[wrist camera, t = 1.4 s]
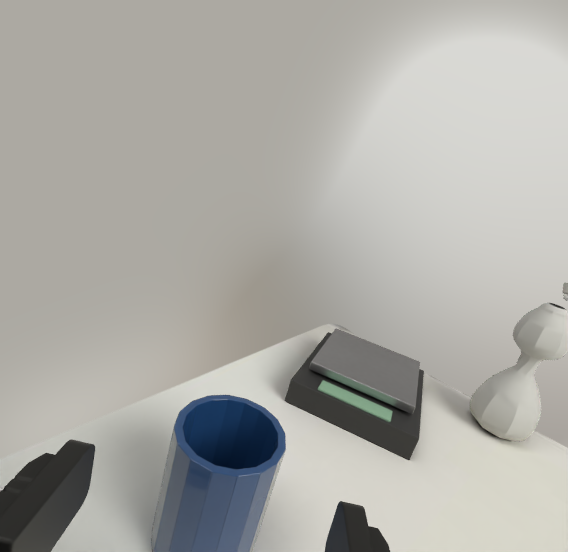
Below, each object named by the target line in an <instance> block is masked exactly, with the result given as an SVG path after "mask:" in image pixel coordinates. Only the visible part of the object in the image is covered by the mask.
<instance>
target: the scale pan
mask: <svg viewBox="0 0 568 552" xmlns="http://www.w3.org/2000/svg"><path fill="white" fill-rule="evenodd" d="M419 366H420V362H419V361H416V360H413V359H411V358H409V357H406V356H404V355H401V354H398V353H396V352H394V351H391V350H388V349H386V348H383V347H381V346H379V345H376V344H373V343H371V342H369V341H366V340H364V339H361V338H359V337H356V336H354V335H351V334H349V333H346V332H344V331H341V330H339V329H335V330H334V332H333V333H332V334H331V336H330V337H329V338H328V340H327V341H326V342H325V344H324V345H323V346H322V348H321V349H320V350H319V352H318V353H317V355H316V356H315V357H314V359H313V360H312V361H311V364H310V367H309V369H311V370H313V371H315V372H317V373H320V374H322V375H324V376H326V377H329V378H331V379H333V380H336V381H338V382H340V383H342V384H345V385H347V386H349V387H351V388H354V389H356V390H358V391H360V392H363V393H365V394H367V395H370V396H372V397H374V398H376V399H379V400H381V401H383V402H385V403H388V404H390V405H392V406H394V407H397V408H399V409H401V410H404V411H406V412H408V413H410V414H413V412H414V410H415V407H416V397H417V387H418V376H419Z"/></svg>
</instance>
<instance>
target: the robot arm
mask: <svg viewBox="0 0 568 552" xmlns="http://www.w3.org/2000/svg"><path fill="white" fill-rule="evenodd" d="M94 453H95V446H94V445H93V444H89V443H84V442H80V441H76V440H69V441H68V442H67V443H66V444H65V445H64V446H63V447H62V448H61V449H60V450H59V451H58V452H57V454H56V455H53V454H49V453H45V454H43V455H42V456H40V457H38V458H36V459H34V460H33V461H31V462H29V463H28V464H27V465H26V466H25V467H24V468H23V469H22V470H21V471H20V472H19V473H18V474H17V475H16V476H15V478H14V479H12V480H11V481H10V482H9V483H8V484H7V485H6V486H5V487H4V489H3V491H2V490H1V491H0V552H51V550H52V549H53V547H54V546H55V544H56V543H57V541H58V540H59V538H60V537H61V536H62V534H63V533H64V531H65V530H66V528H67V527H68V525H69V524H70V522H71V521H72V519H73V518H74V516H75V515H76V513H77V512H78V510H79V509H80V507H81V506H82V504H83V502H84V500H85V498H86V496H87V493H88V490H89V487H90V481H91V474H92V467H93V460H94ZM325 552H390V550H389V546H388V544H387V542H386V540H385V539H384V537H383V536H382V534H381V532H380V531H379V529H378V528H374V527H369V526H368V523H367V518H366V514H365V509H364V507H363V506H360V505H355V504H351V503H346V502H342V501H340V502H339V504H338V506H337V509H336V512H335V515H334V519H333V522H332V525H331V528H330V531H329V534H328V537H327V541H326V547H325Z"/></svg>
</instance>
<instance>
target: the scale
mask: <svg viewBox="0 0 568 552" xmlns="http://www.w3.org/2000/svg"><path fill="white" fill-rule="evenodd" d="M331 334H332V333H329V332H328V333H327V334H326V336H325V337H324V338H323V340H322V341H321V342H320V343H319V345H318V346H317V347H316V349H315V350H314V351H313V352H312V354H311V355H310V356H309V358H308V359H307V360H306V362H305V363H304V364H303V365H302V367H301V368H300V369H299V371H298V372H297V373H296V374H295V376H294V377H293V378H292V380H291V382H290V385H289V388H288V392H287V395H286V398H285V401H286V402H288V403H290V404H292V405H294V406H296V407H299V408H301V409H303V410H305V411H307V412H309V413H311V414H313V415H315V416H318V417H320V418H322V419H324V420H326V421H328V422H330V423H332V424H334V425H336V426H339V427H341V428H343V429H345V430H347V431H349V432H351V433H353V434H355V435H358V436H360V437H362V438H364V439H366V440H368V441H370V442H372V443H374V444H376V445H379V446H381V447H383V448H385V449H387V450H389V451H391V452H393V453H395V454H398V455H400V456H402V457H404V458H406V459H408V460H410V457H411V455H412V453H413V451H414V449H415V446H416V444H417V442H418V440H419V431H420V417H421V403H422V389H423V374H424V371H423V370H420V369H419V376H418V387H417V397H416V407H415V410H414V412H413V414H410V413H408V412H406V411H404V410H401V409H399V408H397V407H394V406H392V405H390V404H388V403H385V402H383V401H381V400H379V399H376V398H374V397H372V396H370V395H367V394H365V393H363V392H360V391H358V390H356V389H354V388H351V387H349V386H347V385H345V384H342V383H340V382H338V381H336V380H333V379H331V378H329V377H326V376H324V375H322V374H320V373H317V372H315V371H313V370H311V369H309V367H310V364H311V361H312V360H313V359H314V357H315V356H316V355H317V353H318V352H319V350H320V349H321V348H322V346H323V345H324V344H325V342H326V341H327V340H328V338H329V337H330V336H331Z"/></svg>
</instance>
